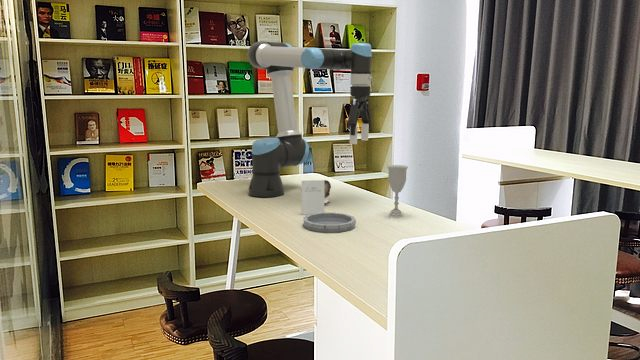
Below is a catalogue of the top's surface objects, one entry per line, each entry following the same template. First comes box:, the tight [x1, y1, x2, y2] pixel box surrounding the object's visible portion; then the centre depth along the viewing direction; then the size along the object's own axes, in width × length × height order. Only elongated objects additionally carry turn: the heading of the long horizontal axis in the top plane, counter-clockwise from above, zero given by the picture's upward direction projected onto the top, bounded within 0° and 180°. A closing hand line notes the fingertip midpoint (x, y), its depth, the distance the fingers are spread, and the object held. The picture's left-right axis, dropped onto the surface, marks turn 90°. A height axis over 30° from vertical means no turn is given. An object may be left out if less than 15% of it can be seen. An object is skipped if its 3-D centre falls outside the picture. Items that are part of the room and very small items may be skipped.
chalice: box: [387, 164, 409, 219], centre depth 187 cm, size 7×7×18 cm
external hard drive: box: [301, 179, 326, 216], centre depth 191 cm, size 2×8×12 cm, turn 96°
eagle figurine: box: [324, 179, 332, 205], centre depth 207 cm, size 8×7×9 cm
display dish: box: [302, 212, 357, 234], centre depth 176 cm, size 17×17×2 cm
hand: (359, 142), depth 203 cm, fingers open, 13 cm apart
